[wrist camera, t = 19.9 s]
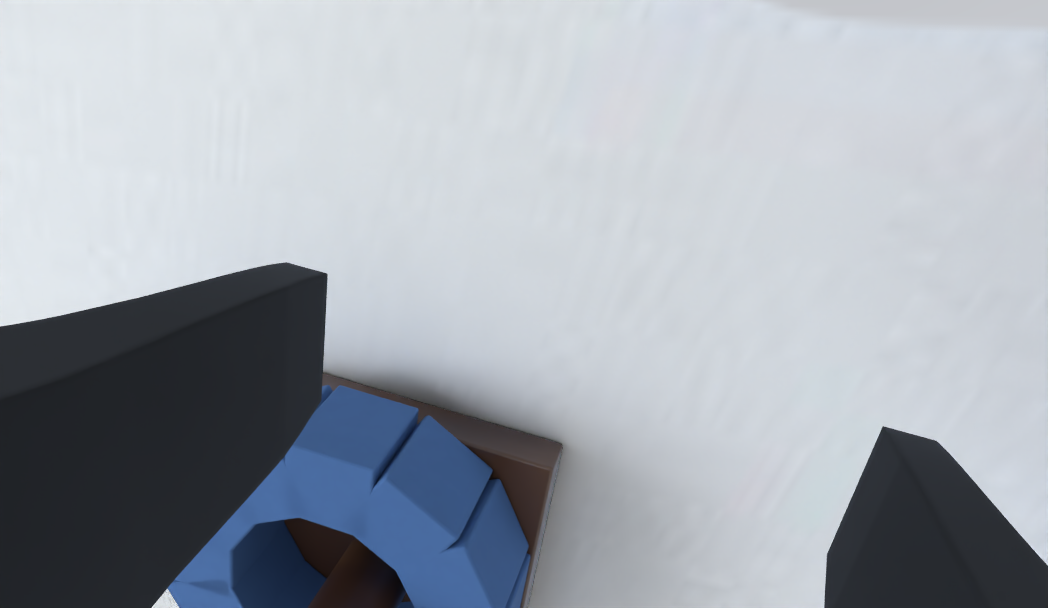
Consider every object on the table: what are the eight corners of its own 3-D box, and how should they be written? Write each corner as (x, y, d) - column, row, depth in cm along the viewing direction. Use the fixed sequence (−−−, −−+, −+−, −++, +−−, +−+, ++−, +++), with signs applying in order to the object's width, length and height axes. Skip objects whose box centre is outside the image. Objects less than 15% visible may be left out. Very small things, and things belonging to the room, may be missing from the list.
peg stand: (564, 443, 23) (502, 595, 18) (519, 646, 26) (458, 819, 21) (294, 363, 24) (167, 483, 19) (288, 567, 28) (181, 712, 23)
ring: (554, 447, 21) (524, 518, 19) (501, 696, 26) (472, 779, 23) (216, 347, 23) (149, 400, 20) (222, 597, 27) (167, 665, 25)
